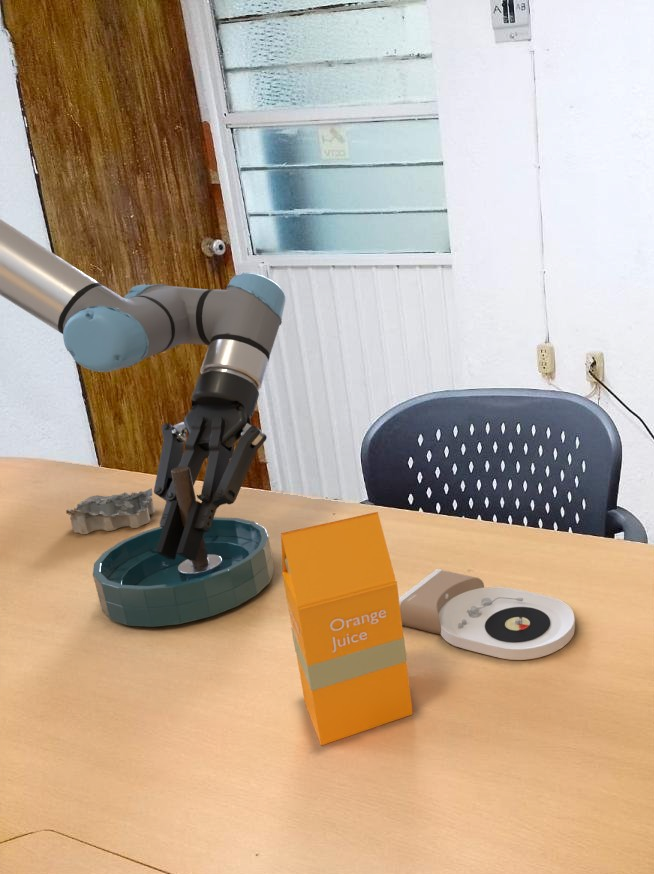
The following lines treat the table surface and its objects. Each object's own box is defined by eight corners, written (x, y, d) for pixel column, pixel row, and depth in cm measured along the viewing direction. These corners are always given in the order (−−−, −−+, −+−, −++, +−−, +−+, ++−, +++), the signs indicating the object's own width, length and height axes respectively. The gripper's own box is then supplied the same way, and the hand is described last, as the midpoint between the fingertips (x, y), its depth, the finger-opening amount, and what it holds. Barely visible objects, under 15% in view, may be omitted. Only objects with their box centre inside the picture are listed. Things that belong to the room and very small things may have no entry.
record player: (444, 562, 103) (591, 593, 95) (446, 584, 104) (591, 617, 96) (386, 607, 93) (544, 646, 85) (388, 631, 94) (545, 671, 86)
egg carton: (67, 537, 120) (60, 511, 119) (85, 516, 127) (78, 492, 126) (147, 528, 123) (141, 502, 121) (160, 508, 130) (155, 484, 128)
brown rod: (179, 570, 104) (156, 466, 99) (222, 561, 106) (202, 459, 101) (180, 587, 100) (157, 479, 95) (225, 577, 102) (204, 471, 97)
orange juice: (413, 714, 80) (391, 526, 73) (320, 746, 76) (287, 550, 69) (390, 673, 86) (367, 497, 80) (303, 701, 82) (271, 518, 76)
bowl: (105, 575, 109) (96, 538, 107) (264, 542, 117) (257, 506, 115) (100, 648, 92) (89, 605, 90) (284, 603, 101) (277, 562, 99)
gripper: (297, 398, 110) (250, 568, 100) (193, 396, 112) (137, 563, 102) (270, 368, 103) (217, 548, 93) (160, 367, 105) (97, 543, 95)
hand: (175, 555), depth 98 cm, fingers closed on brown rod, 2 cm apart
